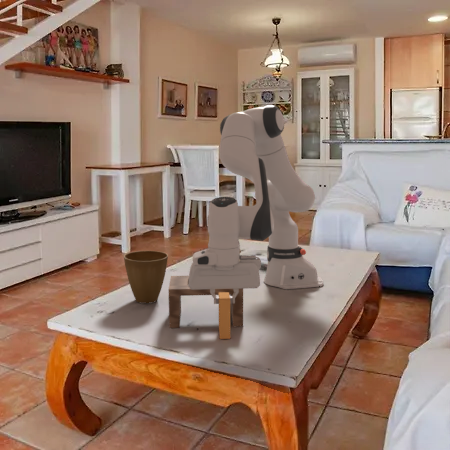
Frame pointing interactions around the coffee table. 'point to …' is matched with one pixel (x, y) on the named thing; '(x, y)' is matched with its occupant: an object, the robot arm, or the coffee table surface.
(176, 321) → the wooden table with hole
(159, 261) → the plant pot
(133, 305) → the coffee table surface
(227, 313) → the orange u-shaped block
